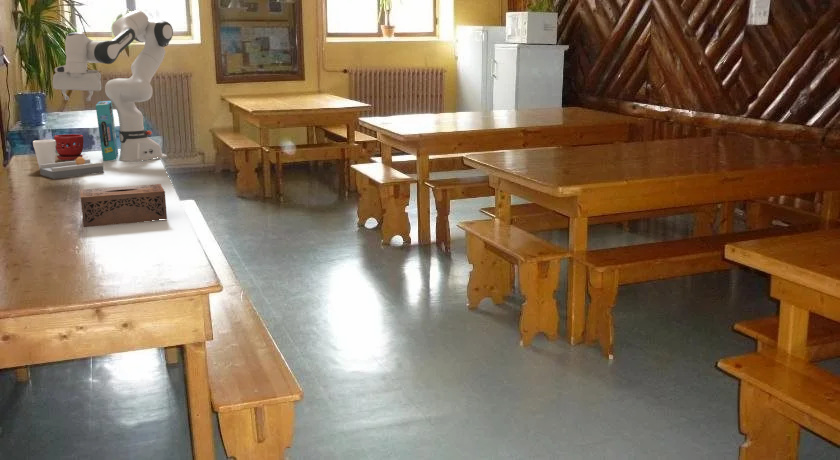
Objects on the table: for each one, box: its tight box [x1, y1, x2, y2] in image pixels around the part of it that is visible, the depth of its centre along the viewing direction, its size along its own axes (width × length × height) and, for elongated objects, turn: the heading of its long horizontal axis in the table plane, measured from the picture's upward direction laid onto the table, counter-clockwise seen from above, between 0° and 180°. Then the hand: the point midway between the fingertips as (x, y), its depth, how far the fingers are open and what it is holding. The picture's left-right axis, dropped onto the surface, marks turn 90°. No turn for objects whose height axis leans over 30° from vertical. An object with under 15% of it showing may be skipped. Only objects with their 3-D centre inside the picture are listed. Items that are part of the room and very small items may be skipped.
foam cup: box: [32, 139, 57, 169], centre depth 367 cm, size 10×9×13 cm
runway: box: [39, 158, 105, 180], centre depth 356 cm, size 22×14×4 cm, turn 135°
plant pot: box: [53, 133, 84, 162], centre depth 396 cm, size 13×13×12 cm
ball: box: [74, 157, 86, 165], centre depth 359 cm, size 4×4×4 cm
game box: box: [95, 100, 119, 162], centre depth 399 cm, size 20×6×27 cm, turn 17°
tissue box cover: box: [79, 183, 168, 228], centre depth 270 cm, size 26×14×10 cm, turn 113°
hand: (77, 100), depth 363 cm, fingers open, 8 cm apart
